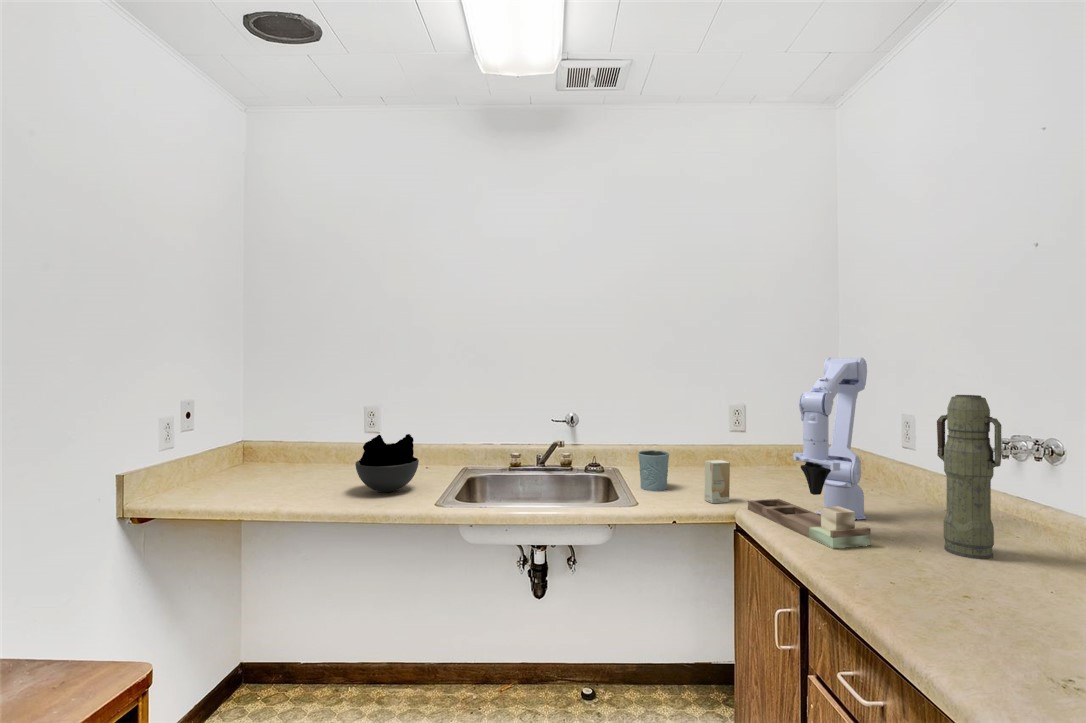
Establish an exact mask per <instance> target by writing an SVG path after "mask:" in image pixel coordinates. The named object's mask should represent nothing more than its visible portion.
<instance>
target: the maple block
mask: <svg viewBox="0 0 1086 723" xmlns="http://www.w3.org/2000/svg"><path fill="white" fill-rule="evenodd" d="M820 511H821V528H822V529H824V530H826V531H829V532H830V530H842V529H855V528H856V525H855V524H856V523H855V522H856V520H855V512H854V511H851V510H848V509H845V508H843V507H840V506H836V507H824V506H823V507H820Z"/></svg>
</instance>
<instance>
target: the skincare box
mask: <svg viewBox="0 0 1086 723" xmlns="http://www.w3.org/2000/svg"><path fill="white" fill-rule="evenodd" d="M730 464H731V463H730V462H729V461H727V460H723V459H718V460H717V459H716V460H705V461H704V501H706V502H708V503H710V504H720V503H721V504H723V503H730V482H731V480H730V476H731V470H730V469H731V468H730V467H731V465H730Z"/></svg>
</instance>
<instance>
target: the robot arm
mask: <svg viewBox="0 0 1086 723" xmlns="http://www.w3.org/2000/svg"><path fill="white" fill-rule="evenodd" d="M824 360H825V361H824V363H823V374H824V376H822V377H820V378H818V379H817V380H816V381H815V382H814V384H813V386H812V387H811V388H810V390H809V391H805V392H804V393H801V395H800V397H799V399H798V400H799V403H798V408H799V411H800V412H799V413H800V420H801V422H802V429H803V430H802V450H803V451H802V452H793V461H799V462H802V463H805V464H801V465H800V469H801V471H802V472H803V474H804V476H805V477H804V478H805V479H806V481H807V485H808V489H809V494H811V495H813V496H819V495H821V494H822V492H823V507H836V506H840V507H843V508H845V509H848V510H851V511H854V512H855V521H856V519H857V520H867V516H865V494H864V491H863V489H862V487H861V486H860V485H859V483H860V481H861V477H862V469H861V468H862V466H861V464H862V461H861V459H860V457H859V455H858V454H856V453H855V452H854V451H853V450H852V449H851V448H852V446H851V445H852V439H853V432H854V430H853V429H854V422H855V416H856V415H855V414H856V405H857V398H858V396H859V395H858V394H859V393H860V392H861V391H864V390H865V387H866V384H867V376H868V364H867V361H866V359H865V358H864V357H837V358H836V357H827V358H826V359H824ZM836 396H837V397H836ZM835 398H836V406H835V413H834V420H833V422H834V423H833V429H832V437H831V438H832V439H831V442H830V443H831V444H830V446H829V439H830V438H829V429H830V428H829V421H830V420H829V416H830V415H831V414H832V410H833V406H834V399H835ZM816 514H819V515H821V510H820V511H819V510H818V511H816Z"/></svg>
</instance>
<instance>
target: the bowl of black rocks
mask: <svg viewBox="0 0 1086 723" xmlns="http://www.w3.org/2000/svg"><path fill="white" fill-rule="evenodd" d="M362 449H363V452H362V456H361V458H360V459H359V460H357V461H355V470H356V474H357V476H358V477H359V479H360V481H361V482H362V483H363V484H364V485H365V486H366V487H368V488H370V489H371V490H373V491H376V492H380V493H390V492H395V491H397V490H400V489H402V488H404V487H406V486H407V485H408V484H409V483H410V481H412V480H413V478H414V477H415V475H416V473H417V470H418V467H419V462H420V461H419V460H420V459H419V458H417V457H414V437H412V434H410V433H407V434H405V436H404V437H402V439H399V440H398V441H396V442H393V443H386V442H385V440H384V439H383V437H382V435H381V434H377V435H376V436H375V437H373V438H371V439H370V440H369V441H366V442H365V443H364V445H362Z"/></svg>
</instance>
